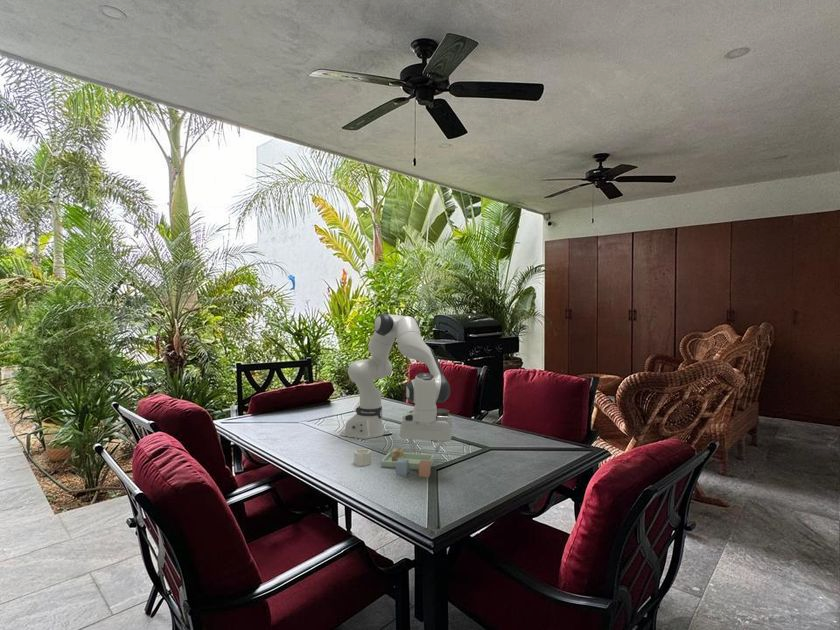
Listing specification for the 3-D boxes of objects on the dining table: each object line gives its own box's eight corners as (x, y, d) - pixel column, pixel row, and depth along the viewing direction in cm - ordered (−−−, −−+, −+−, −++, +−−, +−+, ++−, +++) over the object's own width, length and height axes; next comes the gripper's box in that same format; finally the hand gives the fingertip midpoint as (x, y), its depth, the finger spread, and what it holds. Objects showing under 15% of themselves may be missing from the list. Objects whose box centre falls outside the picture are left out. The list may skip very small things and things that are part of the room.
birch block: (391, 463, 183) (391, 451, 183) (394, 459, 187) (394, 448, 187) (401, 463, 182) (401, 452, 182) (403, 460, 186) (403, 448, 186)
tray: (381, 467, 180) (381, 461, 180) (389, 457, 191) (389, 451, 191) (429, 471, 176) (429, 464, 175) (434, 460, 187) (434, 454, 187)
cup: (352, 465, 182) (352, 453, 182) (358, 459, 188) (358, 448, 188) (367, 466, 180) (367, 454, 180) (372, 461, 187) (372, 449, 187)
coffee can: (444, 442, 212) (444, 413, 212) (425, 439, 217) (425, 411, 217) (452, 437, 221) (452, 409, 221) (434, 434, 226) (434, 407, 226)
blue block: (396, 474, 172) (396, 462, 172) (398, 470, 176) (398, 458, 176) (406, 475, 171) (406, 462, 171) (408, 471, 175) (408, 459, 175)
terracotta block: (418, 476, 170) (418, 463, 170) (420, 472, 174) (420, 460, 174) (428, 477, 169) (428, 464, 169) (430, 473, 173) (430, 461, 173)
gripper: (452, 414, 172) (453, 449, 172) (402, 412, 176) (402, 446, 177) (450, 418, 166) (451, 454, 166) (398, 416, 170) (398, 451, 170)
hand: (425, 450), depth 171 cm, fingers open, 8 cm apart
